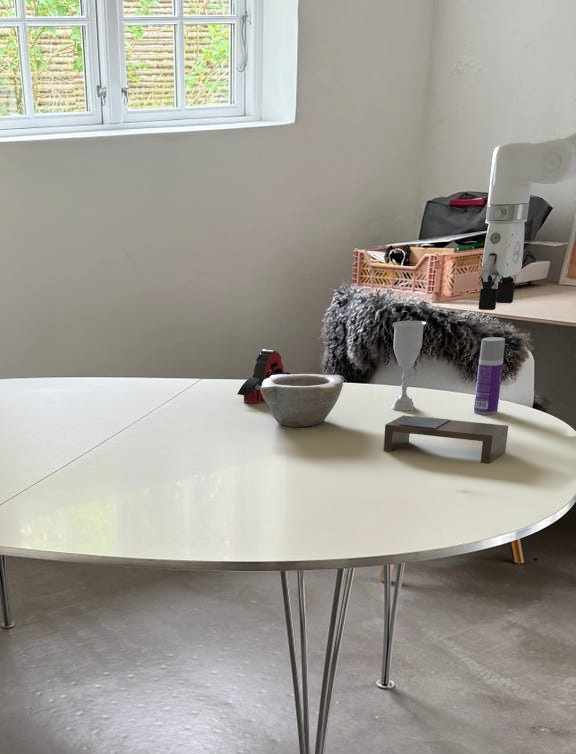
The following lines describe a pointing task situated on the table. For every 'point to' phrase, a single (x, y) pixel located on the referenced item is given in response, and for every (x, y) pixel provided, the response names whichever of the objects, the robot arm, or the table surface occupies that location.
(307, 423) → the mortar
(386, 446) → the shelf
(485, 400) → the container
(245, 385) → the red black angled piece
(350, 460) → the table surface
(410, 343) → the chalice
